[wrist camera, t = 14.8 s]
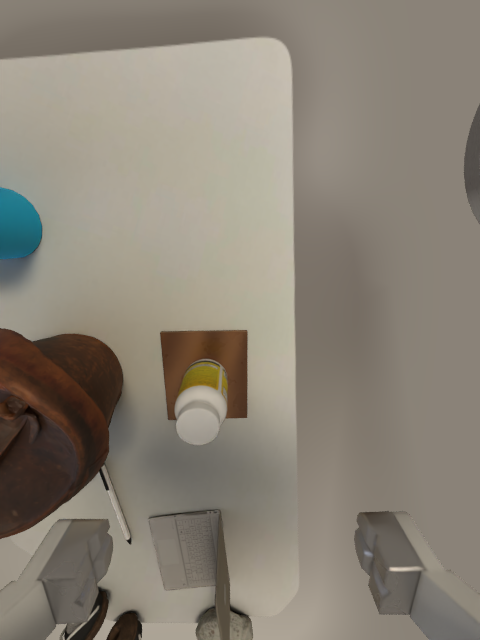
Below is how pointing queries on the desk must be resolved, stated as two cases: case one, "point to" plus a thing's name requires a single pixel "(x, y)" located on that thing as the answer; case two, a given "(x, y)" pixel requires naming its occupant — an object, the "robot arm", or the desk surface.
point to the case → (52, 422)
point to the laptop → (194, 557)
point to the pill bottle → (201, 402)
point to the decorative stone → (210, 631)
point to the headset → (122, 634)
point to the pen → (115, 502)
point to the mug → (17, 225)
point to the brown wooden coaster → (206, 345)
